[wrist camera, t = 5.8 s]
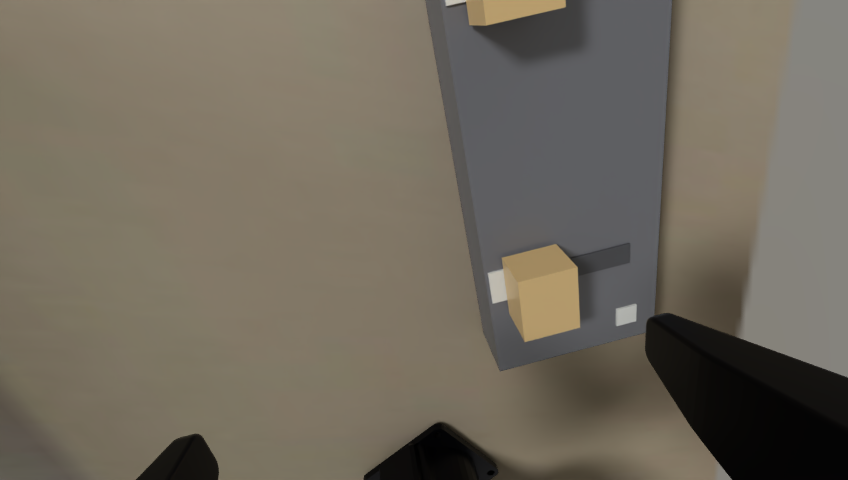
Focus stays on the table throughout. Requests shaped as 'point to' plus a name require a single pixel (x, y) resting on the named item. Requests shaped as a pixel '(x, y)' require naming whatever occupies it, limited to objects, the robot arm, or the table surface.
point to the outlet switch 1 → (507, 9)
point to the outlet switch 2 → (542, 292)
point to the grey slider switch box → (559, 156)
